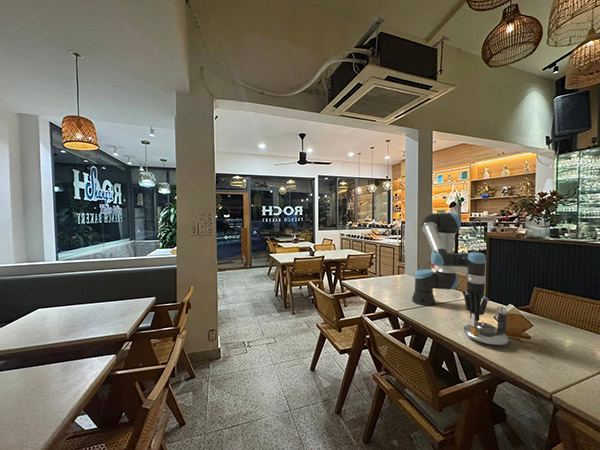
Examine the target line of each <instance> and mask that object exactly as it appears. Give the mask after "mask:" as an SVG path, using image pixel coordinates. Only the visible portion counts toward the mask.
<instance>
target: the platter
mask: <svg viewBox="0 0 600 450" xmlns="http://www.w3.org/2000/svg"><path fill="white" fill-rule="evenodd" d="M463 333H464V335H465V334H466V335H465V336H468V337H469V338H470V339H472V340H475V341H476V340H477V341H476V342H478V341H480V342H483V343H487V344H491V345H490V346H504V345H508V344H509V336H507V334H506V335H505V334H504V333H502V332H500V331H498V329H496V328H495V336H493V337H488V336H484V335H481V334H478V328H477V327H475V326H472V325H471V324H467V325H466V324H465V325H464V326H463ZM480 342H479V343H480ZM483 343H482V344H483ZM487 344H486V345H487Z"/></svg>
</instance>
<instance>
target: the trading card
mask: <svg viewBox="0 0 600 450" xmlns="http://www.w3.org/2000/svg"><path fill="white" fill-rule="evenodd" d="M447 320H448V321H450V320H452V318H450V319H449V318H448V319H446V321H447ZM455 320H456V321H458V322H461V323H462V324H464V325H465V326H466V325H468V324H466V323H464V322H463V321H461V320H459V319H457V318H455ZM440 322H442V323H444V324H445V325H448V326H450V327H451V328H453V329H455V330H456V331H458V332H460V333H462V334H463V335H465V336H467V335H466V334H465V333H464V331H461V330H460V329H457V328H456V327H453V326H452V325H450V324H448V323H447V322H445V321H444V320H443V319H441V320H440Z"/></svg>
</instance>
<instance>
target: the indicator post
mask: <svg viewBox="0 0 600 450" xmlns="http://www.w3.org/2000/svg"><path fill="white" fill-rule="evenodd" d="M496 312H497V314H494V317H495V318H496V317H497V330H498V331H500V332H502V333H504V334H505V335H506V336H507V334H506V333H507V332H506V331H507V309H506V308H505V307H504V306H501V305H500V306H497V308H496Z"/></svg>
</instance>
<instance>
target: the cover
mask: <svg viewBox="0 0 600 450" xmlns="http://www.w3.org/2000/svg"><path fill="white" fill-rule="evenodd" d="M475 327H477V328H478V334H481V335H484V336H488V337H493V336H495V329H496V327H495V326H494V325H492V324H489V323H487V322H480V321H478V322H477V323H475Z"/></svg>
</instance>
